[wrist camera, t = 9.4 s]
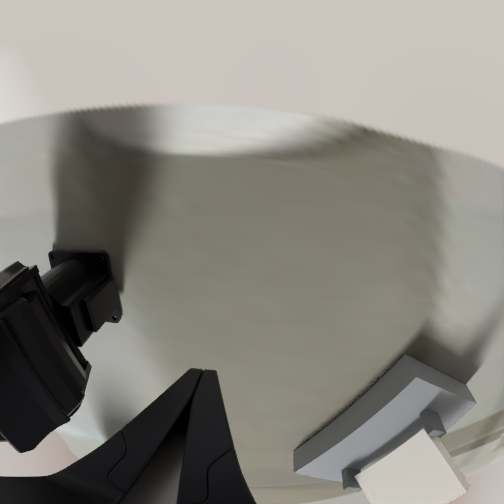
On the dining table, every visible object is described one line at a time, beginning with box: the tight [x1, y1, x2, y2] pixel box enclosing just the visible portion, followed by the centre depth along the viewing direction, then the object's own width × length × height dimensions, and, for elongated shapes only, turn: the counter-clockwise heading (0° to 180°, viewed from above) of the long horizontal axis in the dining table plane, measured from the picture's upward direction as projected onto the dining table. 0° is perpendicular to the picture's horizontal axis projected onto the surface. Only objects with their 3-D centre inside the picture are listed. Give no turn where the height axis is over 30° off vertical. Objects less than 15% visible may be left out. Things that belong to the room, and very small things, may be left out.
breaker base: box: [293, 354, 477, 491], centre depth 25 cm, size 12×18×6 cm, turn 150°
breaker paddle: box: [355, 428, 470, 504], centre depth 20 cm, size 2×10×9 cm, turn 150°
